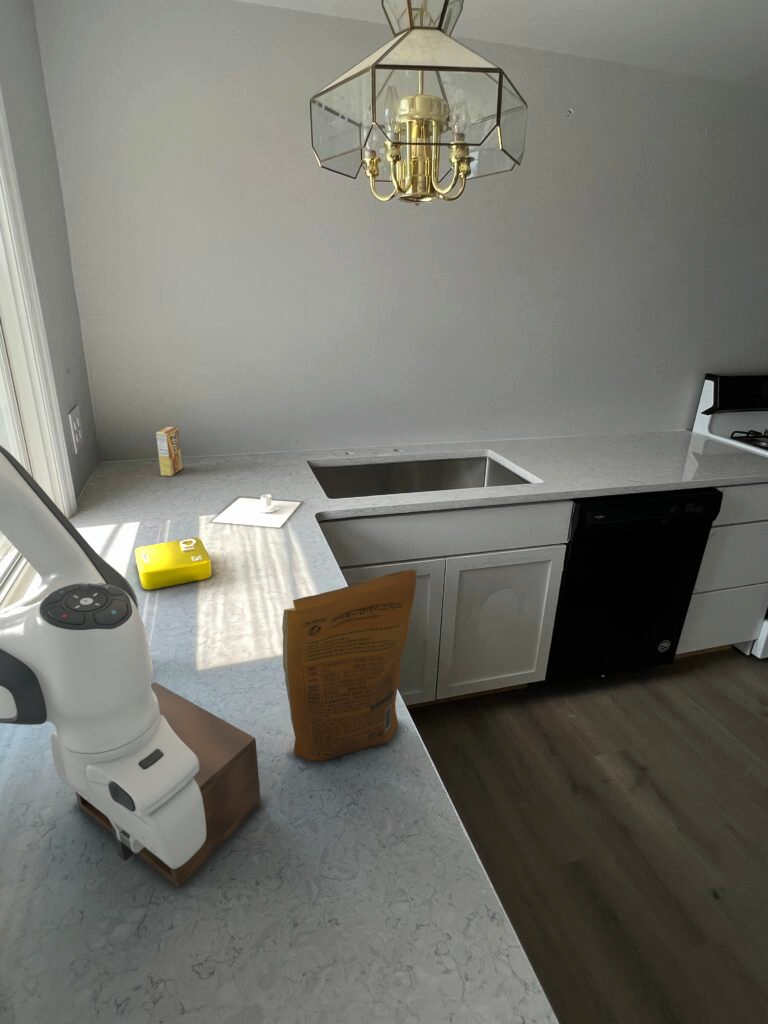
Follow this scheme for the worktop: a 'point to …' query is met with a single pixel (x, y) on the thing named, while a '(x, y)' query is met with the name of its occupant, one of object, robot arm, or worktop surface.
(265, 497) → the teacup and saucer
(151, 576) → the yellow box
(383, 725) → the pancake mix bag
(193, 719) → the brown wooden box
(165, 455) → the candy box
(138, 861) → the worktop surface
